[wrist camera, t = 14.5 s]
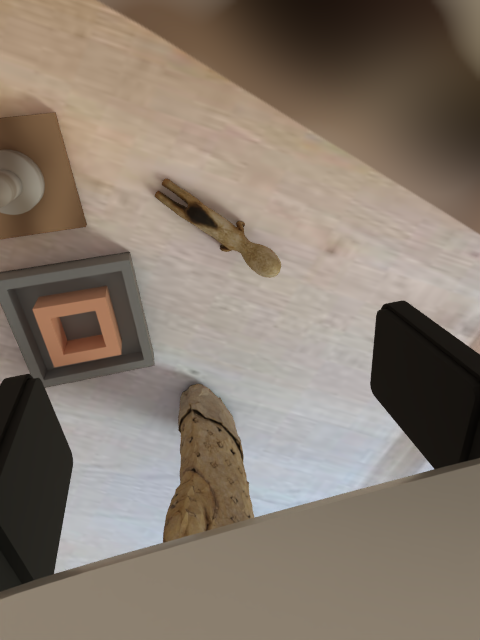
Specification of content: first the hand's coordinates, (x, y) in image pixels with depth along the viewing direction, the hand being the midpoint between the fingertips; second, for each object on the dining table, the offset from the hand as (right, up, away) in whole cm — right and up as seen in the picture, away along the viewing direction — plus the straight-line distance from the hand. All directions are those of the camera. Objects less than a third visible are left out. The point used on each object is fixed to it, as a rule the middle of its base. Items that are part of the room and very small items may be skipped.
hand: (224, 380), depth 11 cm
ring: (-17, +2, +33) cm, 37 cm away
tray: (-17, +2, +33) cm, 37 cm away
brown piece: (-20, +15, +26) cm, 36 cm away
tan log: (-6, -11, +43) cm, 45 cm away
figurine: (-2, +12, +32) cm, 35 cm away
